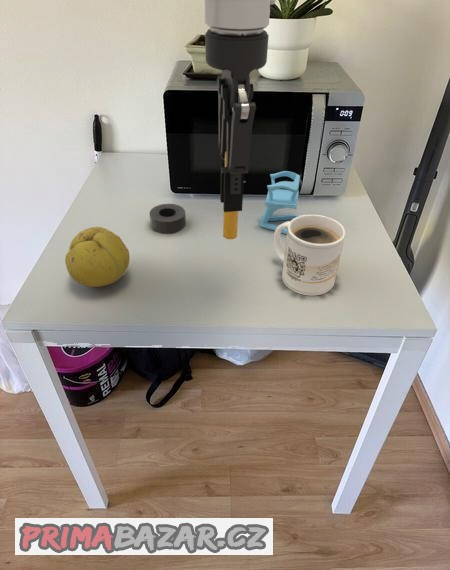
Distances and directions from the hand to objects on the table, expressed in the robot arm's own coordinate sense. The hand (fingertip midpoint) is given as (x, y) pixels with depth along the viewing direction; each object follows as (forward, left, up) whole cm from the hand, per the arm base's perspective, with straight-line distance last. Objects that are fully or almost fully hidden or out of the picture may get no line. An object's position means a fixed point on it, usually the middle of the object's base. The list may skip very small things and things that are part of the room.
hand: (231, 205), depth 67 cm
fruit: (-22, +8, -18) cm, 30 cm away
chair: (+15, +22, -18) cm, 32 cm away
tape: (-9, +26, -18) cm, 33 cm away
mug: (+15, +4, -18) cm, 24 cm away
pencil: (0, 0, -5) cm, 5 cm away
